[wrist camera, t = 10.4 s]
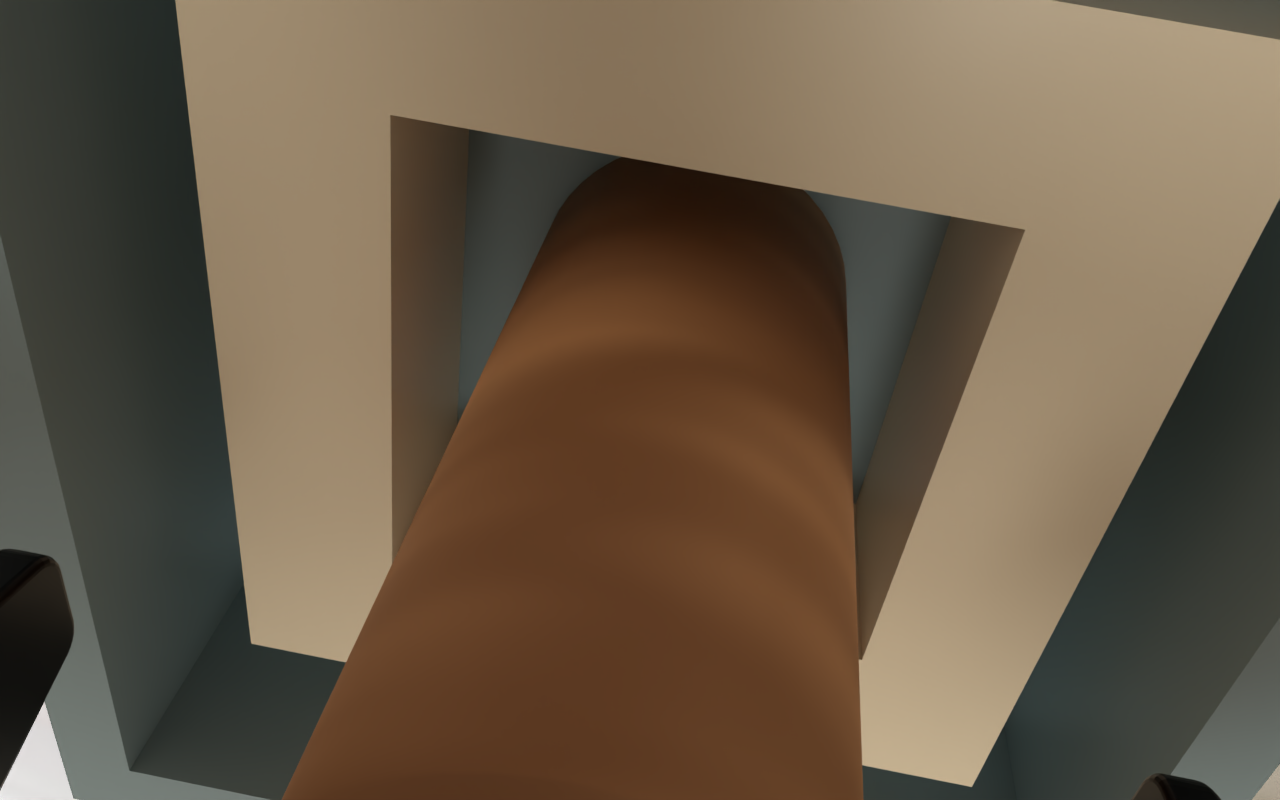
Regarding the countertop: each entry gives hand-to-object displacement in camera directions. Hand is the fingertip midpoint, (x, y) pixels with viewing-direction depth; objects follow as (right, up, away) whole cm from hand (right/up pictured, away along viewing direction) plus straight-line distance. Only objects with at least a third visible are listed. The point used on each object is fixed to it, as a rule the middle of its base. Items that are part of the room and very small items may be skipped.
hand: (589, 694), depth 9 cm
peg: (+1, +4, +5) cm, 7 cm away
